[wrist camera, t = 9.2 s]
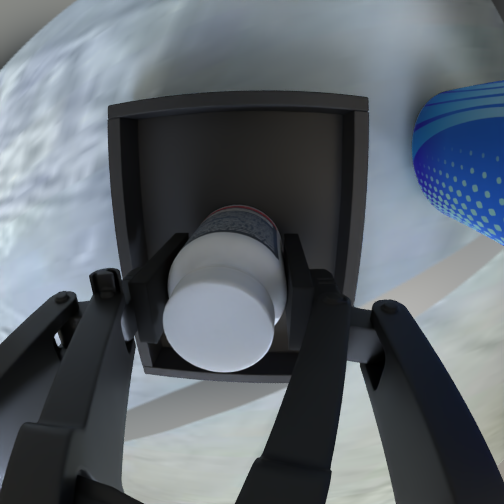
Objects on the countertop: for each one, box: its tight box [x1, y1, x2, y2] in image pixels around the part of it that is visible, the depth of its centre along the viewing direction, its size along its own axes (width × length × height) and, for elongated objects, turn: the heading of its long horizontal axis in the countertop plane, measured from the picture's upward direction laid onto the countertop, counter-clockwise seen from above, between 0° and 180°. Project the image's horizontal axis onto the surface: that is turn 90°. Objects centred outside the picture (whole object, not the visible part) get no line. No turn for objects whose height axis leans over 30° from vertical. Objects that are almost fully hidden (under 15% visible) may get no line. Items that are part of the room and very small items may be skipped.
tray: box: [108, 90, 369, 383], centre depth 18 cm, size 18×14×3 cm
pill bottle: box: [163, 205, 287, 372], centre depth 14 cm, size 5×5×9 cm
